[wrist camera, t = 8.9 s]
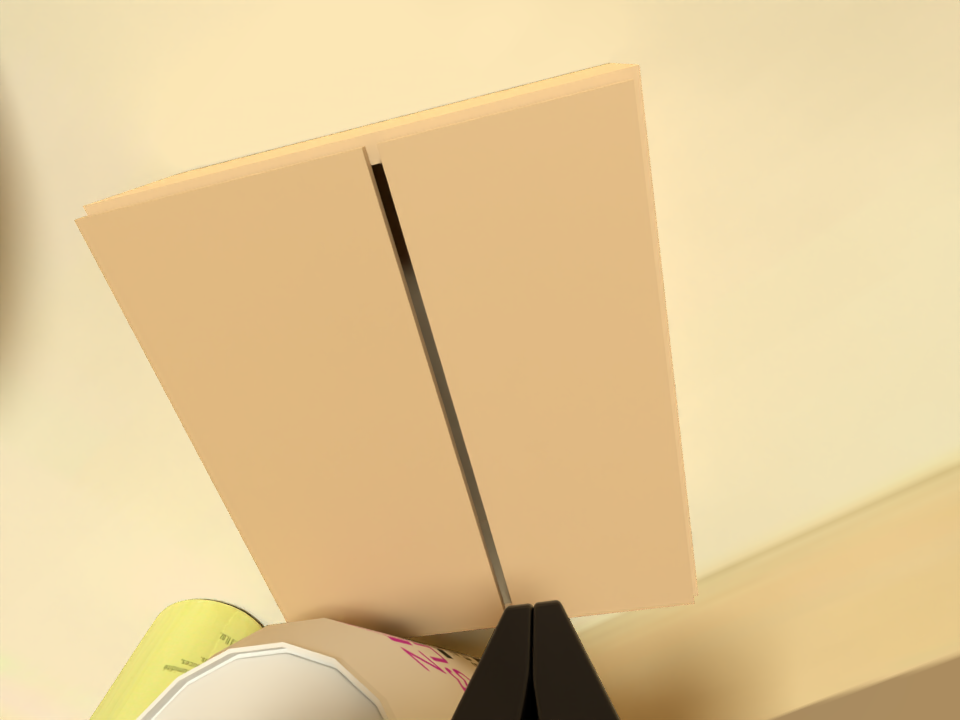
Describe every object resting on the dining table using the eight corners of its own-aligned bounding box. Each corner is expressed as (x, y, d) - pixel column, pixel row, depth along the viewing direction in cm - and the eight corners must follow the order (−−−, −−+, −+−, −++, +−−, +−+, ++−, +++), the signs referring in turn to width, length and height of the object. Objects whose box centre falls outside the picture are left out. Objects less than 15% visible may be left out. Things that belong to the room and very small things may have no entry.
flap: (631, 78, 11) (633, 79, 11) (691, 594, 17) (694, 603, 17) (379, 141, 12) (376, 144, 12) (518, 614, 18) (518, 623, 18)
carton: (609, 62, 15) (643, 65, 11) (666, 499, 21) (702, 607, 17) (179, 173, 17) (69, 210, 13) (342, 546, 23) (303, 654, 19)
